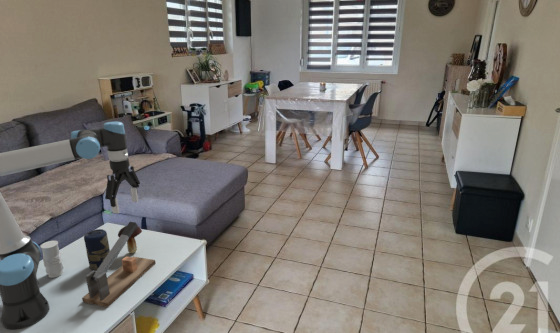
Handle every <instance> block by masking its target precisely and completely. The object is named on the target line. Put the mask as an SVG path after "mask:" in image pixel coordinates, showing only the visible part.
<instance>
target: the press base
mask: <svg viewBox="0 0 560 333" xmlns="http://www.w3.org/2000/svg"><path fill="white" fill-rule="evenodd" d="M121 264H122V265H121V266H120V267H119V268H117V269H115V271H113V272H112V273H111V274H110V275H108V276H107V272H106V273H105V272H103V273H102V274H101V275H99V276H98V277H97V278H96V280H97V281H92V280H91V277H92V276H93V275H94V274H95V272H96V271H97V270H94V269H92V270H91V271H90V272H88V273H87V274H86V275H85V279H86V284H87V285H86V286H87V289H88V290H87V291H88V292H87V293H86V294H85V295H84V296H83V297H81V300H82V303H85V304H89V305H94V306H99V307H105V308H109V307H110V306H111V305H112V304H113V303H115V301H117V300H118V299H119V298H120V297H121V296H122V295H123V294H124V293H126V291H128V290H129V289H130V288H131V287H132V286H133V285H134V284H135V283H136V282H137V281H138V280H139V279H140V278H142V277H143V276H144V275H145V274H146V273H147V272H148V271H150V269H151V268H153V267H154V266H155V265H156V260H155V259H153V258H152V259H151V258H143V257H140V256H125V257H124V258H122V259H121Z"/></svg>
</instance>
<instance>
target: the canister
mask: <svg viewBox="0 0 560 333" xmlns="http://www.w3.org/2000/svg"><path fill="white" fill-rule="evenodd" d="M83 240H84V245H85V246H84V247H85V250H86V256H87V260H88V265H89V267H90V269H91V270H94V271H97V269H98V268H99V266H100V265H101V264H102V262H103V261H104V259H105V258H106V256H107V255H108V253H109V252H110V250H111V249H110V244H109V237H108V234H107V231H106V230H105V229H101V228H100V229H98V228H97V229H93V230H90V231H87V232H86V233H85V234H84V236H83Z"/></svg>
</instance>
